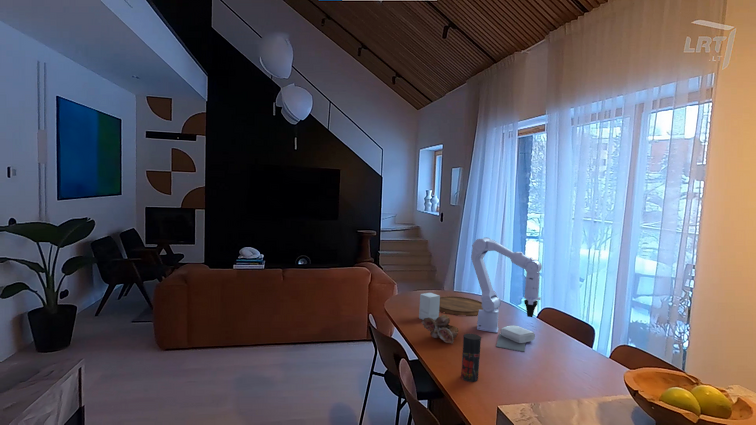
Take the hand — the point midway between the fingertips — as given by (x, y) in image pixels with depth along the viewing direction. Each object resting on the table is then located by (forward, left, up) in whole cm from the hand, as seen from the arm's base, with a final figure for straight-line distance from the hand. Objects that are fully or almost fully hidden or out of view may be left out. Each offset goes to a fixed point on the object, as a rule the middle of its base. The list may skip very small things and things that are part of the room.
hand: (529, 316), depth 187 cm
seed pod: (-35, -20, -11) cm, 42 cm away
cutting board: (-38, +35, -11) cm, 52 cm away
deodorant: (-19, -52, -11) cm, 57 cm away
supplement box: (-48, +5, -11) cm, 49 cm away
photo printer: (0, -7, -8) cm, 10 cm away
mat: (-7, -9, -10) cm, 15 cm away
